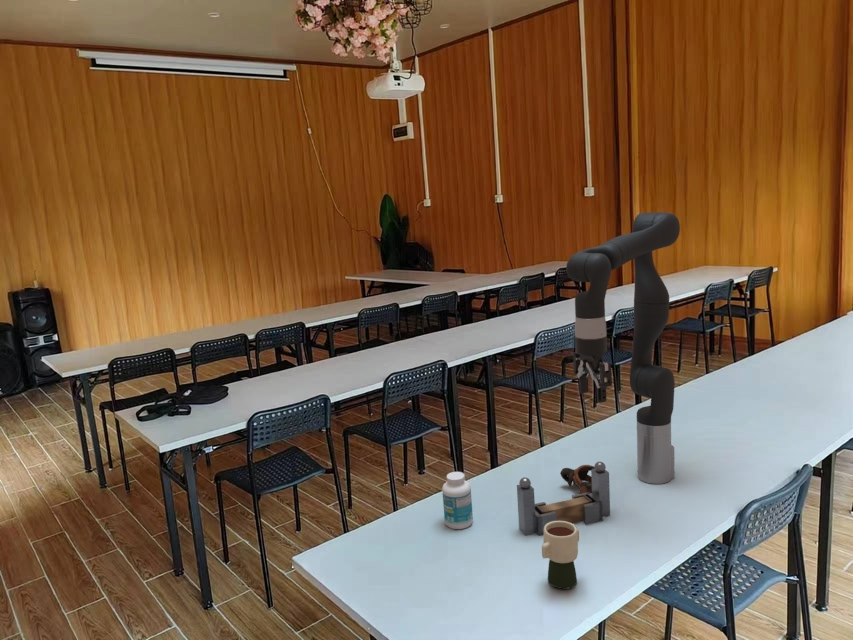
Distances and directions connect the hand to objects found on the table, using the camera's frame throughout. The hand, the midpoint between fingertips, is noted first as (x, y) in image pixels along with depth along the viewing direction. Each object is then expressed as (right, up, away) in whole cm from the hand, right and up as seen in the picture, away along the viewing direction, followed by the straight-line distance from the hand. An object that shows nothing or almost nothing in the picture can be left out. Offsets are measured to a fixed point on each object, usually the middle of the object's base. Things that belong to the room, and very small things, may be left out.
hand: (592, 397), depth 165 cm
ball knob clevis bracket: (-6, -33, +4) cm, 33 cm away
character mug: (-12, -38, -21) cm, 45 cm away
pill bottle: (-33, -34, +8) cm, 48 cm away
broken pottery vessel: (+2, -29, +21) cm, 36 cm away
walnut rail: (-6, -33, +4) cm, 33 cm away
